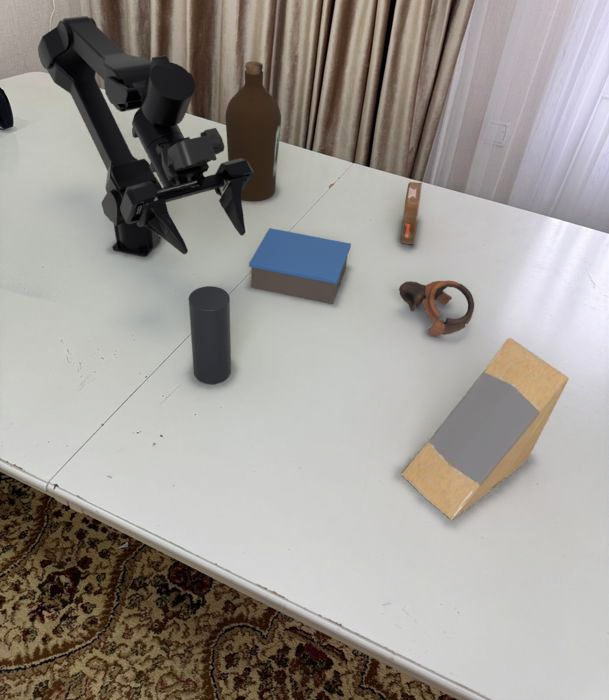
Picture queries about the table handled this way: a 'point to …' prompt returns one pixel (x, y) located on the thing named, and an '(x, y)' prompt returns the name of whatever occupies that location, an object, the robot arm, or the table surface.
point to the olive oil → (254, 133)
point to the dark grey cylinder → (210, 334)
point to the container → (299, 265)
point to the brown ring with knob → (427, 294)
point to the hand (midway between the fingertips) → (215, 243)
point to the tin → (411, 213)
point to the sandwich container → (488, 430)
